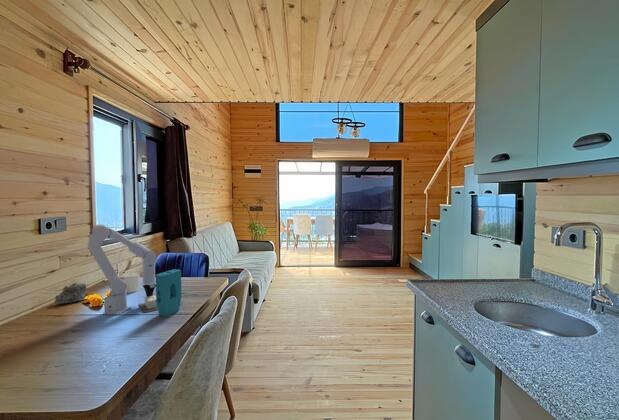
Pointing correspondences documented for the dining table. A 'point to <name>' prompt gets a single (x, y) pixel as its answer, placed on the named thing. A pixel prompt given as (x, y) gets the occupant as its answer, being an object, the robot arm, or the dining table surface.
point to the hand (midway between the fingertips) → (149, 298)
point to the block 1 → (150, 302)
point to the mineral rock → (72, 294)
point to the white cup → (132, 282)
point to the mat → (146, 308)
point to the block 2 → (168, 292)
